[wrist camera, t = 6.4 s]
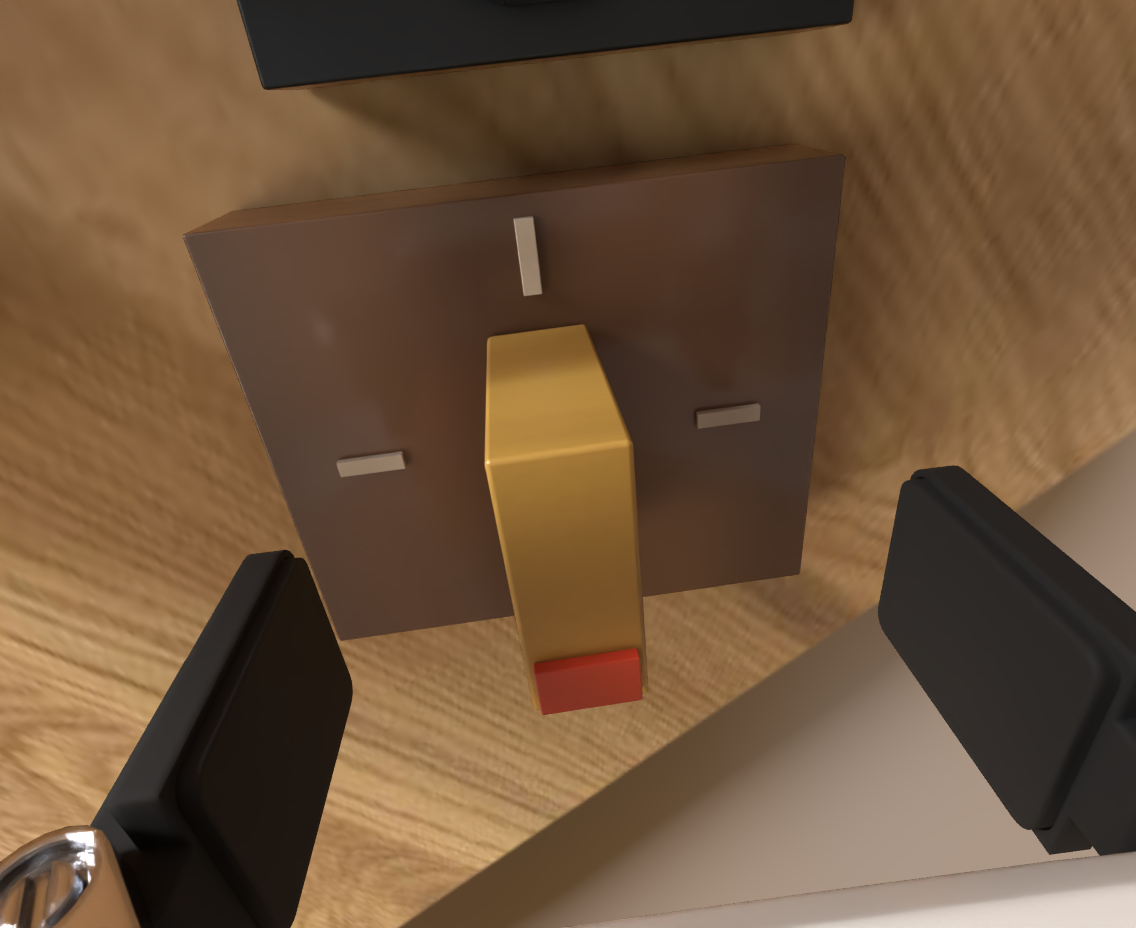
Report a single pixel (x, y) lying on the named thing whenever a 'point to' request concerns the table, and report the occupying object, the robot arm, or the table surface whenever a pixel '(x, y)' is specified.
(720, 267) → the plate
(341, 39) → the button box
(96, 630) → the table surface
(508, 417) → the yellow block
